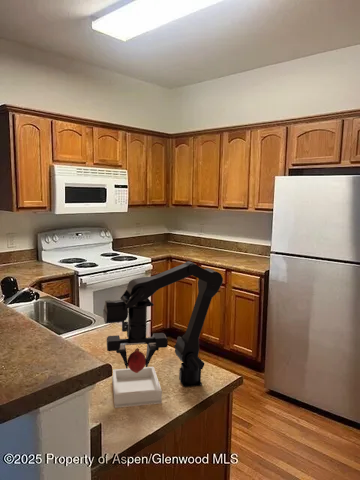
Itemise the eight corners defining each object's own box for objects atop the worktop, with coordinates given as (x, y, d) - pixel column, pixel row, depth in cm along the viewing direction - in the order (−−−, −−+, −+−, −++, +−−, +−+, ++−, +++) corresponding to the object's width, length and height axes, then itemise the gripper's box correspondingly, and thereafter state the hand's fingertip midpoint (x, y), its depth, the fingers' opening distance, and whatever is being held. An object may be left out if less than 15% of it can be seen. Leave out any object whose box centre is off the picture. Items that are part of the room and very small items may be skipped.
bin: (153, 377, 126) (153, 366, 126) (161, 403, 111) (161, 390, 110) (112, 380, 123) (112, 369, 122) (114, 407, 107) (115, 395, 107)
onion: (142, 378, 113) (142, 353, 112) (124, 375, 114) (125, 351, 113) (147, 369, 118) (148, 346, 117) (130, 367, 119) (131, 344, 118)
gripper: (162, 310, 124) (161, 354, 126) (106, 313, 119) (105, 358, 121) (168, 321, 113) (167, 369, 115) (107, 325, 109) (107, 374, 111)
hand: (136, 367), depth 116 cm, fingers closed on onion, 6 cm apart
